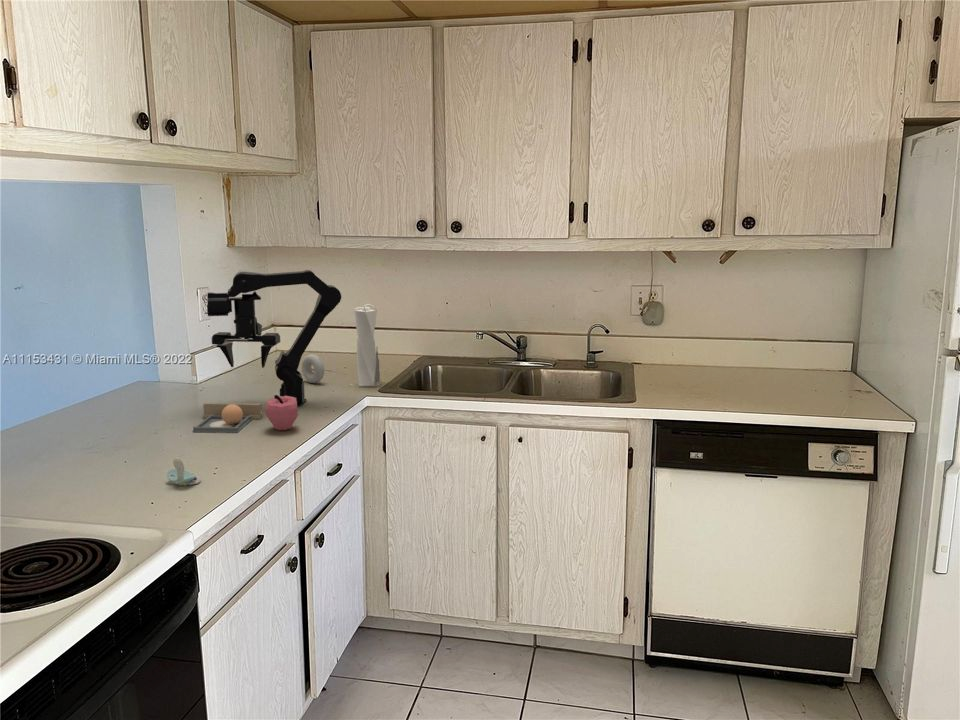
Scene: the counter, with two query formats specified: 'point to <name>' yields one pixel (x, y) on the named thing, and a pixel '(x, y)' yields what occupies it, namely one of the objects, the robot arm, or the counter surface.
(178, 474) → the pacifier
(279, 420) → the apple
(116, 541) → the counter surface
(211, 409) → the tan rectangular bar
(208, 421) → the mat
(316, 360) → the donut
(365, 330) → the skyscraper
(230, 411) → the ball
